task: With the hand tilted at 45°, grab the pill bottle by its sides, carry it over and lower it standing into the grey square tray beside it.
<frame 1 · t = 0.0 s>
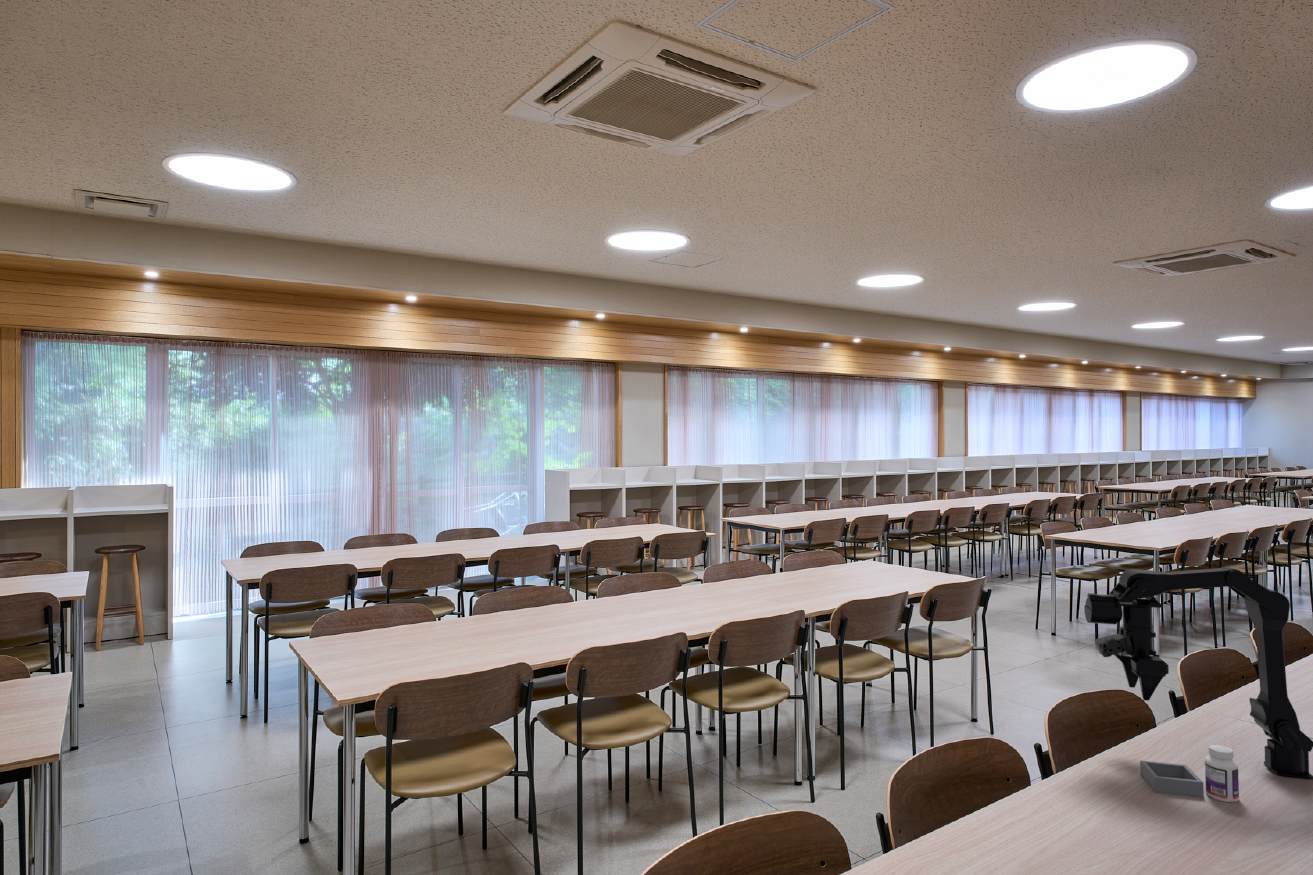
hand: (1138, 693, 169), 15 cm above the table, tool pointing down, fingers open, 9 cm apart
pill bottle: (1222, 797, 150), on the table
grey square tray: (1171, 785, 155), on the table
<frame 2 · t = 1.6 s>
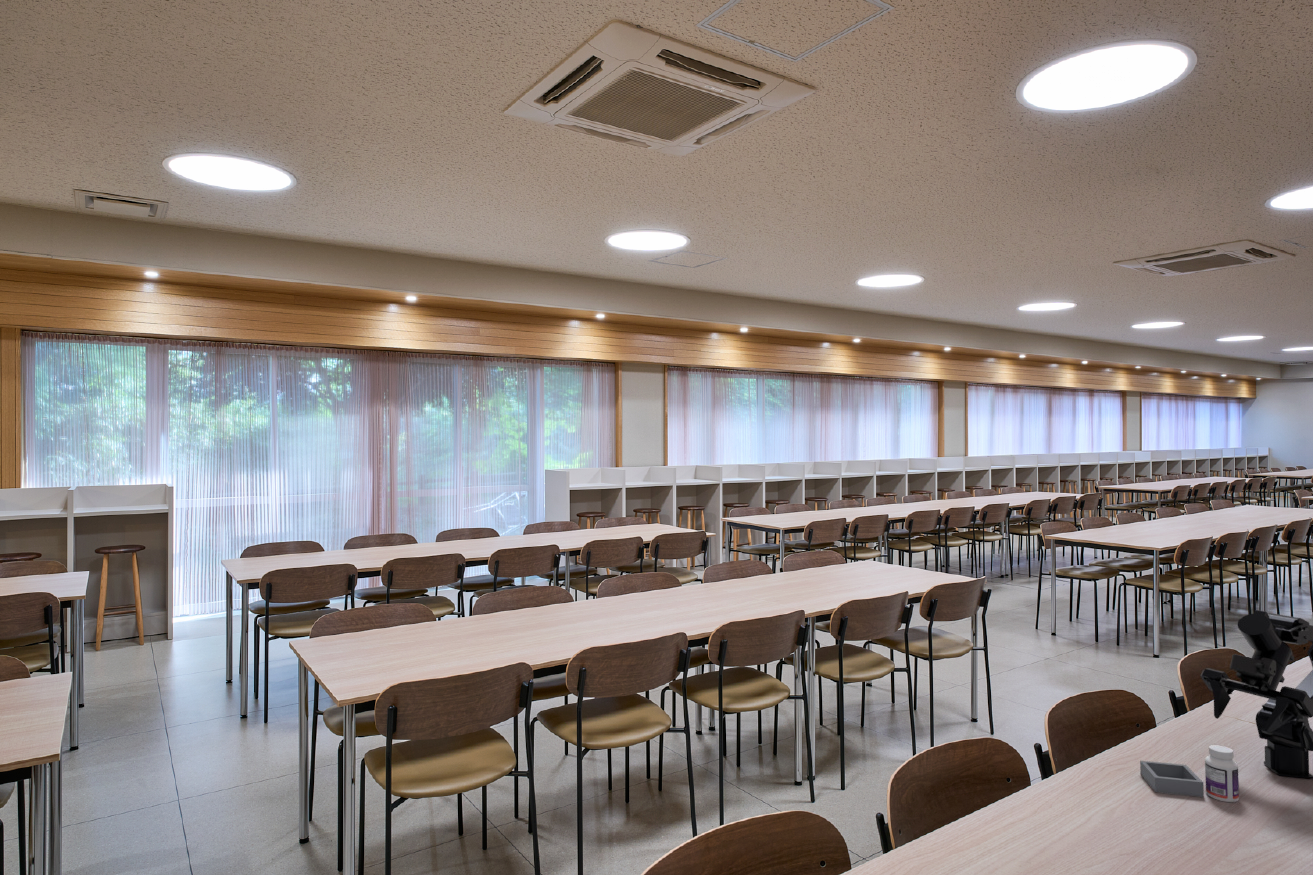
hand: (1240, 724, 153), 13 cm above the table, tool tilted 45°, fingers open, 9 cm apart
nothing on the table moved.
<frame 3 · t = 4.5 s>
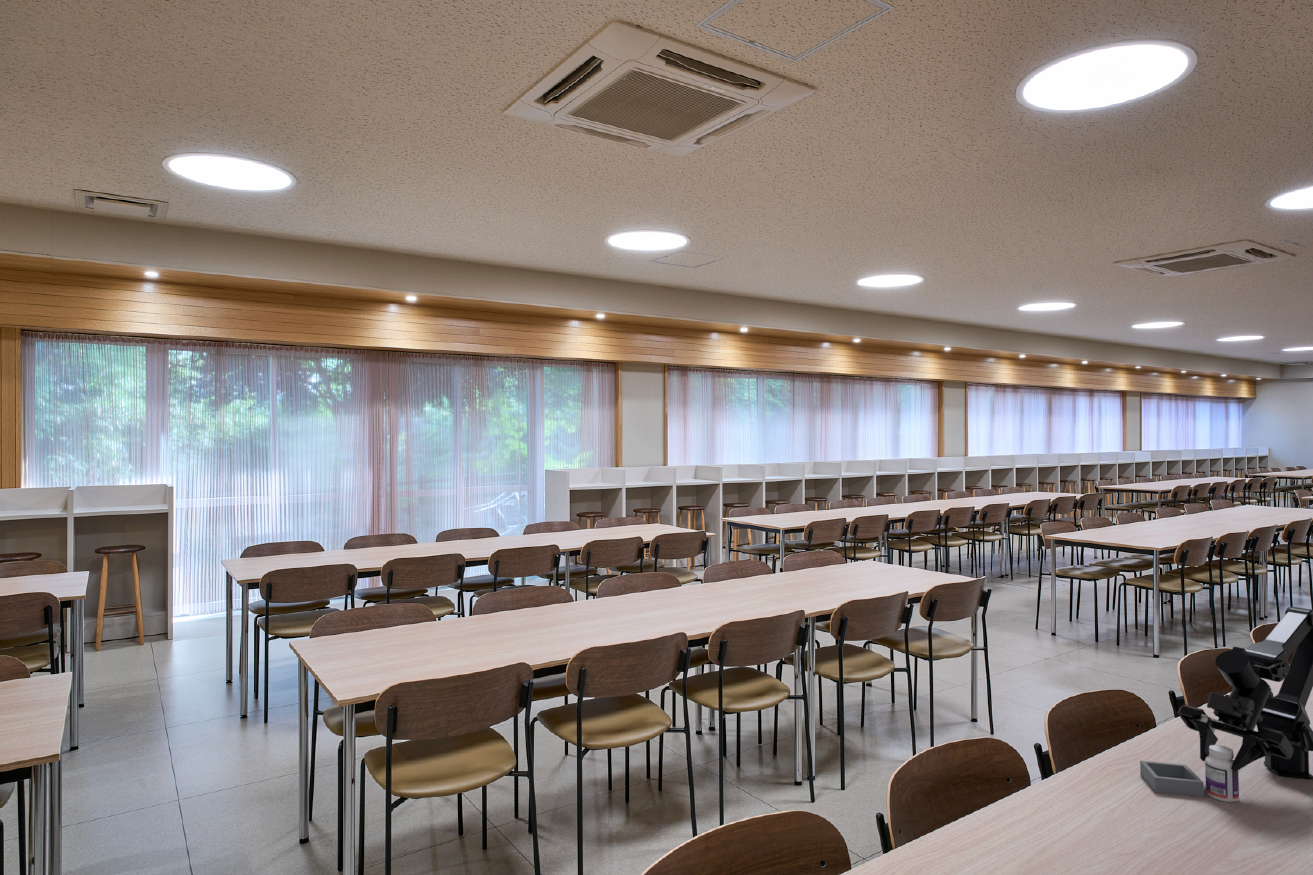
hand: (1217, 765, 149), 7 cm above the table, tool tilted 45°, fingers closed on pill bottle, 5 cm apart
pill bottle: (1222, 797, 150), on the table, touching gripper
when the fingers open (8 cm above the table, at t = 8.3 s): pill bottle drops 1 cm, resting in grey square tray.
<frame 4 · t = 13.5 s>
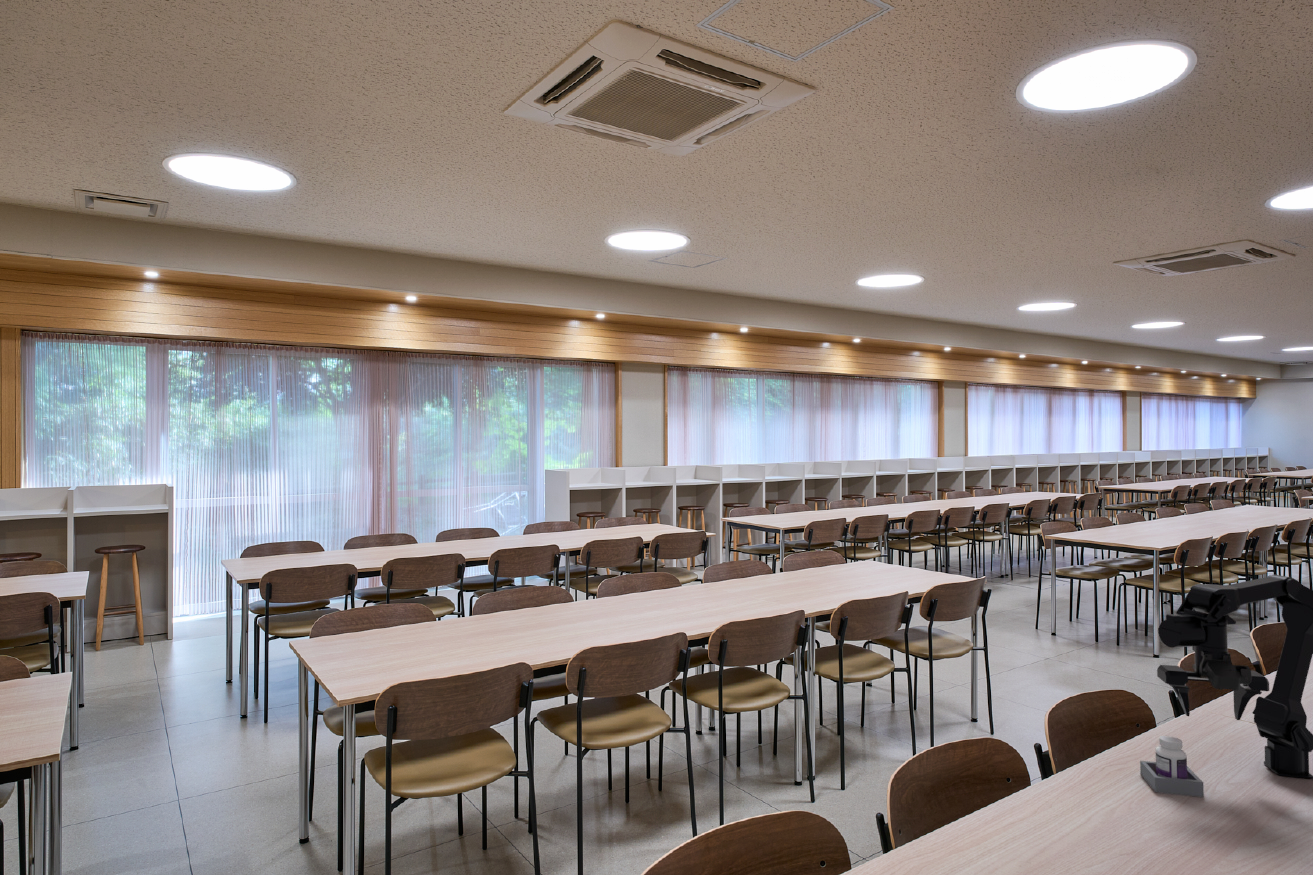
hand: (1212, 717, 158), 13 cm above the table, tool pointing down, fingers open, 9 cm apart
pill bottle: (1171, 786, 155), resting in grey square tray
at the end: pill bottle 0.1 cm off-centre on the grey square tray, point 0.0 cm above the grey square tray's base; pill bottle tilted 0°; the gripper is holding nothing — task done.
